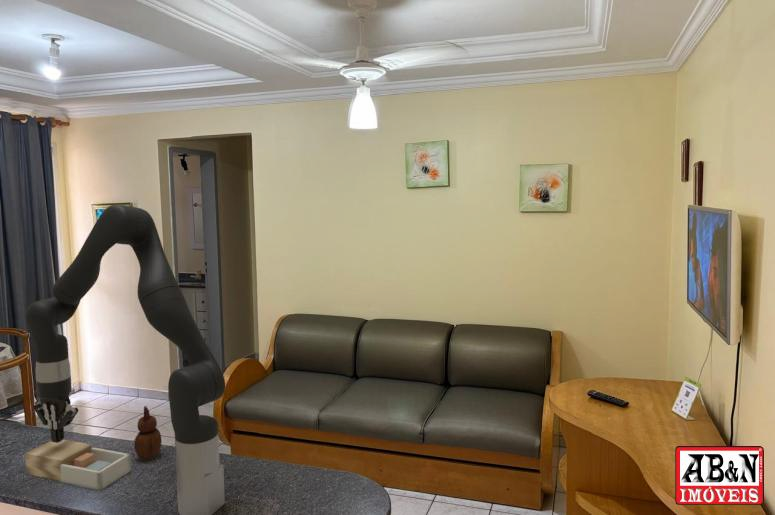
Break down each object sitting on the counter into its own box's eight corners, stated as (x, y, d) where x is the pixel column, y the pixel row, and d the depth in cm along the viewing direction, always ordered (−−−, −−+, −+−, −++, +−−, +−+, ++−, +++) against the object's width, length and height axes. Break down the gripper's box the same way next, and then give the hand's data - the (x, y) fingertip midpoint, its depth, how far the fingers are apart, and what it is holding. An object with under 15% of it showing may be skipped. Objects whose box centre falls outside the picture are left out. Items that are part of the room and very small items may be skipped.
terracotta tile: (88, 467, 142) (95, 468, 141) (74, 474, 138) (82, 476, 138) (87, 452, 142) (94, 453, 141) (73, 459, 138) (81, 461, 137)
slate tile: (98, 460, 141) (98, 469, 141) (85, 467, 137) (86, 477, 137) (110, 462, 139) (111, 471, 140) (98, 470, 136) (99, 479, 136)
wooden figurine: (150, 464, 145) (148, 409, 143) (131, 461, 146) (128, 407, 144) (166, 452, 151) (163, 399, 150) (147, 450, 153) (144, 398, 151)
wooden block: (92, 464, 144) (91, 444, 144) (63, 481, 136) (61, 460, 135) (57, 457, 148) (56, 438, 147) (26, 473, 140) (25, 453, 139)
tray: (131, 470, 141) (130, 454, 141) (100, 490, 132) (99, 473, 131) (94, 463, 145) (93, 447, 144) (61, 482, 135) (60, 465, 135)
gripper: (86, 374, 141) (89, 439, 143) (46, 368, 145) (50, 431, 147) (60, 384, 134) (65, 452, 136) (20, 377, 138) (24, 443, 140)
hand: (57, 441), depth 142 cm, fingers closed
